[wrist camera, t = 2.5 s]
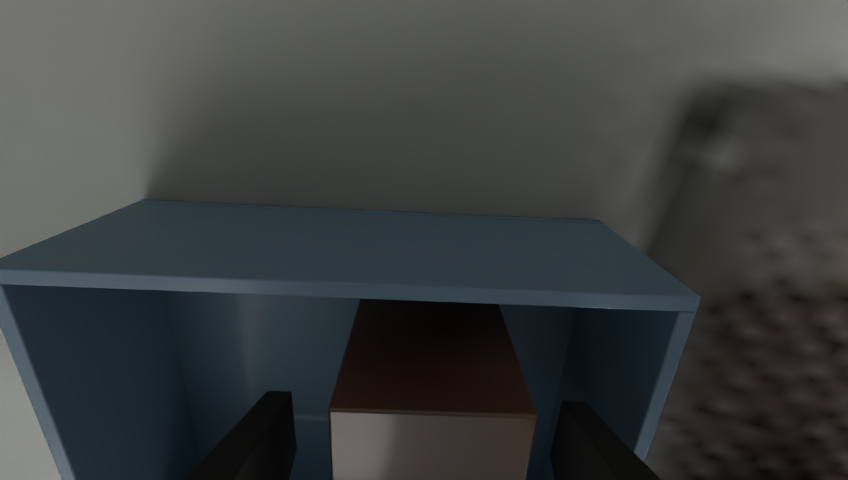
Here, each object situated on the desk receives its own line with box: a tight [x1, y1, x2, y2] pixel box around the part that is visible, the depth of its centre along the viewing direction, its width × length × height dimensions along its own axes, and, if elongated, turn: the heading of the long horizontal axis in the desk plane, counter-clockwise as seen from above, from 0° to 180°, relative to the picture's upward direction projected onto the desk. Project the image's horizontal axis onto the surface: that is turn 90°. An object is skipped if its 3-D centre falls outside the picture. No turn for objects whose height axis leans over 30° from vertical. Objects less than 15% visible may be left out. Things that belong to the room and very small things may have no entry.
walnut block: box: [328, 299, 538, 480], centre depth 12 cm, size 4×4×6 cm
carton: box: [0, 200, 701, 480], centre depth 14 cm, size 16×15×5 cm
